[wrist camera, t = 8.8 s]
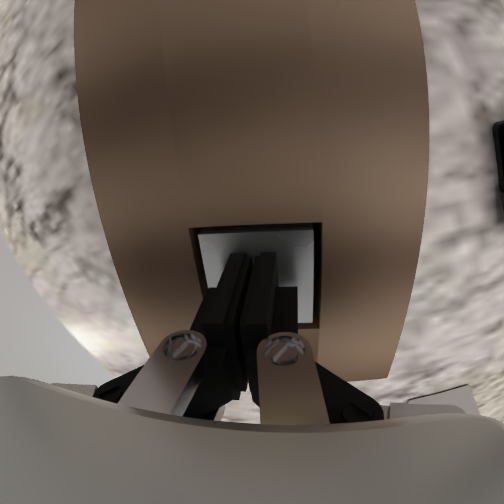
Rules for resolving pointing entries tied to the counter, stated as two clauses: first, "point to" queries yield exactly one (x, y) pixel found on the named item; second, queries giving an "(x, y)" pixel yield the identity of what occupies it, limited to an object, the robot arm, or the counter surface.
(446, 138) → the counter surface
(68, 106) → the counter surface
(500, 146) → the end cap
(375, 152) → the walnut block
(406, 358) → the counter surface
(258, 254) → the steel peg
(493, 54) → the counter surface
